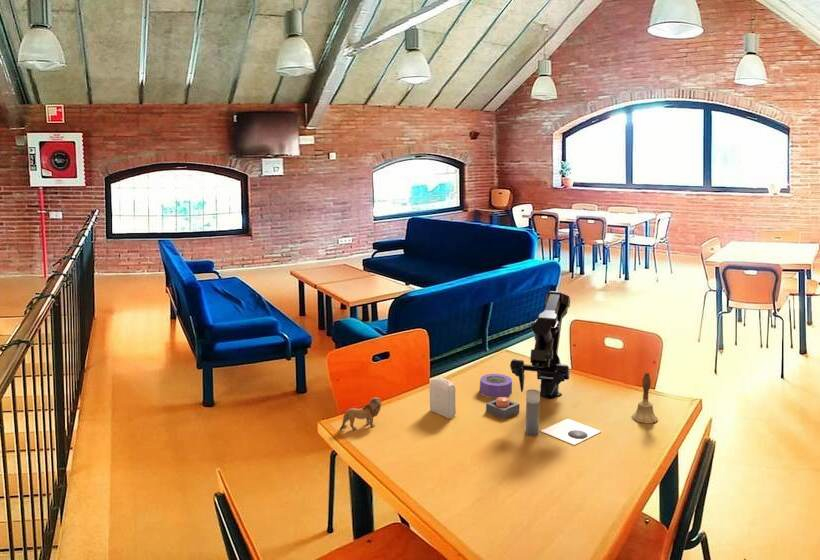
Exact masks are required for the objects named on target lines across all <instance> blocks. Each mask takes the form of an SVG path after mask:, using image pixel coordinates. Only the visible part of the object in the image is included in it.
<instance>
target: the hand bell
mask: <svg viewBox="0 0 820 560" xmlns="http://www.w3.org/2000/svg"><path fill="white" fill-rule="evenodd" d="M641 383H642V390H643V393H642V400H640V401H639V402H637V403H638V404H637V407H636V410H635V412H634V413H633V414H631V419H632V418H633V419H634V421H635V420H636V421H635V422H637V421H638V422H637V423H639V422H642V423H641V424H645V423H651V424H655V423H657V422H658V421H657V420H659V419H658V417H657V415H656V414H655V412H654V408H653V403H652V402H650V401H649V391H650V388H651V383H652V381H651V377H650V373H649V372H644V375H643V377H642V382H641ZM633 419H632V420H633ZM656 421H657V422H656ZM654 422H655V423H654Z"/></svg>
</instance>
